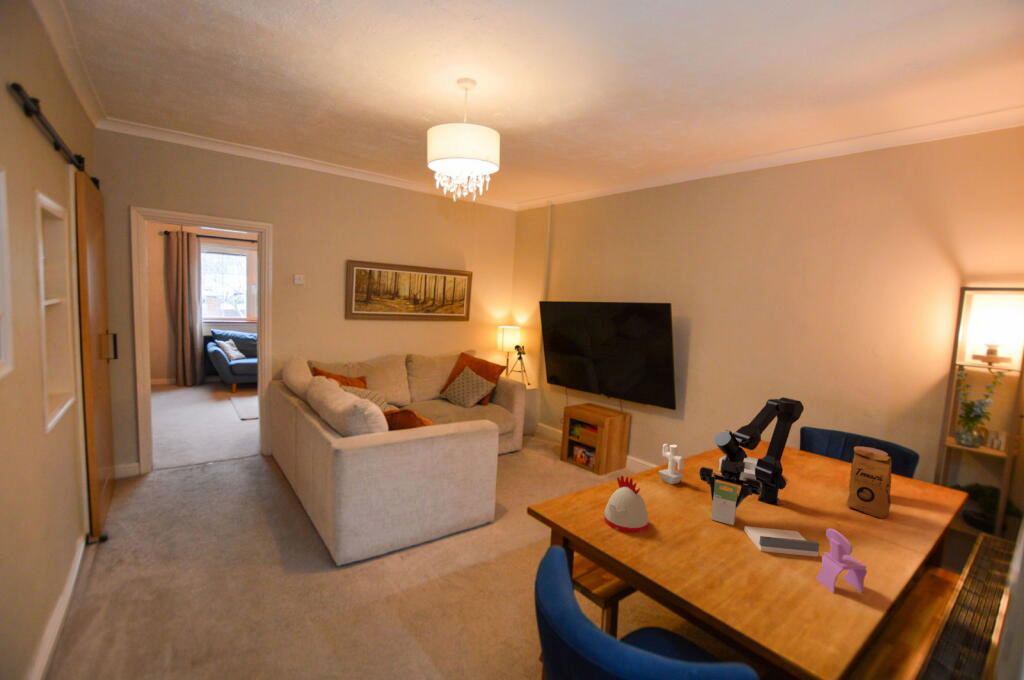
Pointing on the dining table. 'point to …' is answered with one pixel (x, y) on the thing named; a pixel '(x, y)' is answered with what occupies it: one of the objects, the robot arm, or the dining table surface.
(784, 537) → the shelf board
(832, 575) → the toy chair
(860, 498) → the coffee package
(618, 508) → the kitchen timer
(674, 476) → the figurine
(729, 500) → the ink box
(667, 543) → the dining table surface
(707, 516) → the dining table surface
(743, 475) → the ashtray
